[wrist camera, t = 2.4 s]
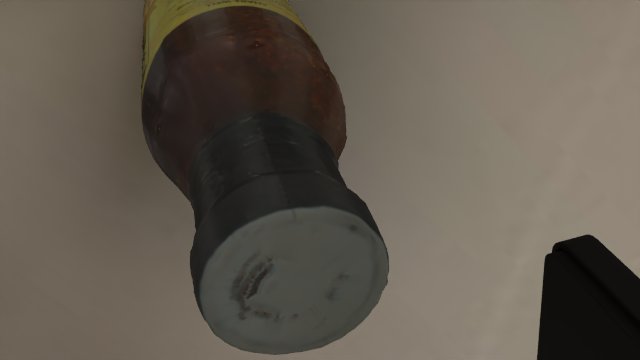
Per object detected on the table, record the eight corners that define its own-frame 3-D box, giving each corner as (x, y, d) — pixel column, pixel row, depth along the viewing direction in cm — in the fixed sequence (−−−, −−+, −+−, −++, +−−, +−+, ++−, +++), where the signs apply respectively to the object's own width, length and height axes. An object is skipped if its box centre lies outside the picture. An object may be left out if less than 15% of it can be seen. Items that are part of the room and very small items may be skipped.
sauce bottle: (116, -7, 27) (25, 264, 10) (227, -89, 26) (327, 56, 9) (205, 99, 30) (247, 431, 14) (306, 30, 29) (480, 290, 13)
